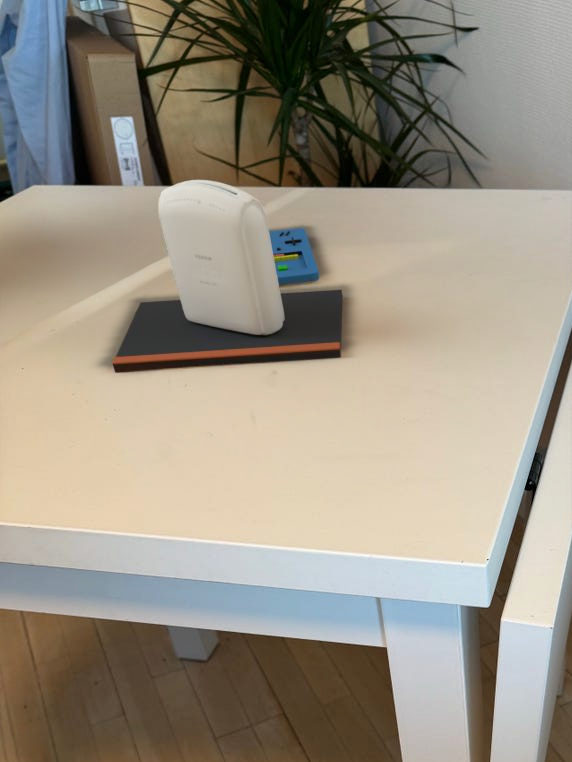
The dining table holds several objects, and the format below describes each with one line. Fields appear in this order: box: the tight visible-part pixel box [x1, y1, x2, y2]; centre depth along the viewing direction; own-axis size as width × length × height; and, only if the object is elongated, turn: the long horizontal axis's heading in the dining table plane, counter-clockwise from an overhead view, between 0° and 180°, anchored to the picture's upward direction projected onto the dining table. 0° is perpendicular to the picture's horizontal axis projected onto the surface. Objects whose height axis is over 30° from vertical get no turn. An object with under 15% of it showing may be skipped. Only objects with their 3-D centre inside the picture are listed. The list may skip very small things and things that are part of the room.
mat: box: [112, 289, 344, 373], centre depth 86 cm, size 20×14×1 cm
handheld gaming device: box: [269, 227, 320, 286], centre depth 99 cm, size 8×1×15 cm
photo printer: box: [157, 179, 284, 335], centre depth 81 cm, size 10×4×12 cm, turn 62°
